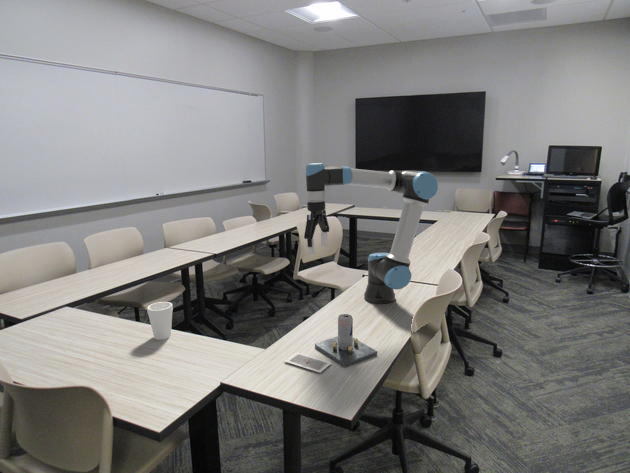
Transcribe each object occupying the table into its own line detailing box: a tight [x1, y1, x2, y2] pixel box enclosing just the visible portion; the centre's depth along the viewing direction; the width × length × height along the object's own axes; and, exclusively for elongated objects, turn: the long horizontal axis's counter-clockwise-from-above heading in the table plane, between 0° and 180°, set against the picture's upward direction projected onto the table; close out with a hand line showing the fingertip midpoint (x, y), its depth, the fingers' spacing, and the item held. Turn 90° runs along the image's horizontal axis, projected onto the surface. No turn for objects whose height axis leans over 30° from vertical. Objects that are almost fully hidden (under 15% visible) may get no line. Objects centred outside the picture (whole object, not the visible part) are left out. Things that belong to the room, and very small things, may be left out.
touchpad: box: [284, 351, 333, 374], centre depth 145 cm, size 8×15×2 cm, turn 58°
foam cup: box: [146, 301, 174, 341], centre depth 167 cm, size 10×9×13 cm
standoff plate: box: [314, 335, 378, 368], centre depth 154 cm, size 15×18×4 cm
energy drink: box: [337, 313, 354, 350], centre depth 153 cm, size 5×5×12 cm
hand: (318, 250), depth 177 cm, fingers open, 13 cm apart
